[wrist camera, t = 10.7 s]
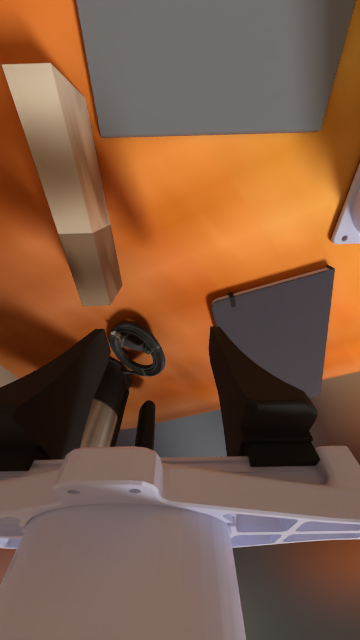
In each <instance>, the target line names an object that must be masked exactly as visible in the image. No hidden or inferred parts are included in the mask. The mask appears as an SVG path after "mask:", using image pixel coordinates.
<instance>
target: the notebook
mask: <svg viewBox="0 0 360 640" xmlns="http://www.w3.org/2000/svg"><path fill="white" fill-rule="evenodd" d="M334 272H335V268H333V267H331V266H329V265H327V267H326V268H322V269H319V270H315V271H312V272H308V273H305V274H301V275H298V276H294V277H290V278H287V279H283V280H280V281H276V282H273V283H269V284H266V285H262V286H258V287H255V288H251V289H248V290H244V291H241V292H237V293H234V294H233V293H232V292H230V293H228V295H226V296H223V297H219V298H217V299H215V300H214V301H213V302H212V306H211V307H212V313H213V316H214V320H215V324H216V327H217V326H220V327H221V329H222V330H223V331H224V332H225V334H226V335H227V336H228V337H229V338H230V339H231V341H232V342H233V343H234V344H235V345H236V346H237V347H238V348H239V349H240V350H241V351H242V352H243V353H244V354H245V355H246V356H247V357H249V358H250V359H251V360H252V361H254V362H255V363H256V364H257V365H259V366H260V367H262V368H263V369H265V370H266V371H267V372H269V373H271V374H272V375H274V376H275V377H277V378H279V379H281V380H282V381H284V382H286V383H288V384H290V385H292V386H294V387H296V388H298V389H300V390H302V391H304V392H305V393H306V395H307V396H308V397H315V396H320V392H321V383H322V375H323V366H324V358H325V349H326V340H327V332H328V323H329V315H330V306H331V297H332V289H333V280H334Z"/></svg>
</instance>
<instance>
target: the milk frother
mask: <svg viewBox="0 0 360 640" xmlns="http://www.w3.org/2000/svg"><path fill="white" fill-rule="evenodd" d="M119 339H120V340H121V342H120V343H119ZM109 340H110V346H111V349H112V350H113V352H114V353H115V355H116V356H117V358H118V359H119V360H120V361H121V362H122V363H123V364H124V365H126V366H127V367H128V368H130V369H132V370H134V371H130V370H127V369H126V368H125V367H124V366H123V365H121V364H120V363H119V362H116V361H115V360H112V359H110V358H109V361H108V365H107V367H106V370H105V372H104V374H103V377H102V379H101V381H100V384H99V386H98V388H97V391H96V393H95V396H94V398H93V401H92V405H91V408H90V411H89V415H88V418H87V422H86V426H85V430H84V434H83V438H82V442H81V446H80V448H84V447H115V445H116V441H117V438H118V434H119V430H120V426H121V422H122V418H123V414H124V410H125V406H126V402H127V398H128V395H129V388H130V386H131V376H130V374H129V373H131V374H135V375H139V376H155V375H157V374H159V373H160V372H161V371H162V370H163V369H164V366H165V356H164V353H163V350H162V348H161V346H160V344H159V343H158V341H157V340H156V338H155V337H154V336H153V335H152V334H151V333H150V332H149V331H148V330H147V329H146V328H144V327H143V326H141V325H139V324H137V323H133V322H121V323H119V324H117V325H116V326H115V327H114V328H113V329H112V331H111V333H110V339H109ZM120 345H121V346H120ZM124 346H126V347H128V348H130V349H133V350H137V351H143V352H145V353H147V354H151V355H152V357H153V364H150V365H141V364H138V363H136V362H134V361H133V360H131V359H130V358H129V357H128V356H127V355H126V354H125V352H124V351H123V349H122V348H123V347H124ZM121 347H122V348H121ZM154 431H155V404H154V403H153V402H152V401H150V400H147V401H146V402H145V403H144V404H143V405H142V407H141V409H140V411H139V418H138V426H137V434H136V440H135V447H145V448H148V449H151V450H153V451H154Z"/></svg>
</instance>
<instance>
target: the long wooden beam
mask: <svg viewBox="0 0 360 640" xmlns="http://www.w3.org/2000/svg"><path fill="white" fill-rule="evenodd" d="M2 68H3V71H4V74H5V76H6V79H7V82H8V85H9V88H10V91H11V94H12V97H13V100H14V103H15V106H16V109H17V112H18V115H19V118H20V121H21V124H22V127H23V130H24V133H25V136H26V139H27V142H28V145H29V148H30V151H31V154H32V157H33V160H34V163H35V166H36V169H37V172H38V175H39V178H40V181H41V184H42V187H43V190H44V193H45V196H46V198H47V201H48V204H49V207H50V210H51V213H52V216H53V219H54V222H55V225H56V228H57V231H58V234H59V237H60V240H61V243H62V246H63V249H64V252H65V255H66V258H67V261H68V264H69V267H70V270H71V273H72V276H73V279H74V282H75V285H76V288H77V291H78V294H79V297H80V300H81V303H82V306H101V305H111V303H112V302H113V300H114V298H115V297H116V295H117V293H118V292H119V290H120V288H121V287H122V281H121V276H120V271H119V266H118V261H117V255H116V250H115V245H114V240H113V235H112V230H111V225H110V220H109V215H108V210H107V205H106V200H105V194H104V189H103V184H102V179H101V174H100V169H99V164H98V159H97V154H96V149H95V144H94V139H93V134H92V128H91V123H90V118H89V113H88V108H87V103H86V98H85V97H84V96H83V95H82V94H81V93H80V92H79V91H78V90H77V89H76V88H75V87H74V86H73V85H72V84H71V83H70V82H69V81H68V80H67V79H66V78H65V77H64V76H63V75H62V74H61V73H60V72H59V71H58V70H57V69H56V68H55V67H54V66H53V65H52V64H51V63H33V64H3V65H2Z"/></svg>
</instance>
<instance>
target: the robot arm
mask: <svg viewBox="0 0 360 640" xmlns="http://www.w3.org/2000/svg"><path fill="white" fill-rule="evenodd" d="M343 236H345V238H344V239H343V240H342V237H343ZM331 241H332V243H335V244H358V243H360V164H359V166H358V169H357V172H356V174H355V177H354V180H353V182H352V185H351V187H350V190H349V193H348V195H347V198H346V201H345V203H344V206H343V209H342V211H341V214H340V217H339V219H338V222H337V225H336V227H335V230H334V233H333V235H332V238H331ZM110 353H111V350H110V347H109V343H108V340H107V336H106V333H105V329H95V330H93V331H92V332H91V333H89V334H88V335H87V336H86V337H84V338H83V339H82V340H81V341H79V342H78V343H77V344H75V345H74V346H73V347H72V348H70V349H69V350H67V351H66V352H65V353H63V354H62V355H60V356H59V357H57V358H56V359H54V360H53V361H51V362H50V363H48V364H46V365H45V366H43V367H41V368H40V369H38V370H36V371H34V372H32V373H30V374H28V375H26V376H24V377H22V378H20V379H18V380H16V381H14V382H12V383H10V384H7V385H5V386H3V387H0V548H10V549H11V548H12V549H17V550H16V552H15V554H14V557H13V559H12V561H11V563H10V565H9V568H8V570H7V572H6V574H5V577H4V579H3V581H2V583H1V585H0V640H246V636H245V629H244V623H243V617H242V610H241V603H240V598H239V590H238V583H237V577H236V570H235V563H234V557H233V551H232V548H235V547H247V546H258V545H270V544H281V543H293V542H305V541H320V540H339V539H340V540H341V539H360V465H359V464H358V463H357V461H356V460H355V458H354V457H353V455H352V453H351V452H350V450H349V449H348V447H346V446H321V447H318V448H316V449H314V447H313V445H312V443H311V441H312V440H313V438H312V436H311V435H310V432H309V430H310V428H311V426H312V425H313V423H314V422H315V420H316V417H317V410H316V408H315V407H314V405H313V404H312V402H311V400H310V399H309V397H308V396H307V395H306V393H305V392H304V391H302V390H300V389H298V388H296V387H294V386H292V385H290V384H288V383H286V382H284V381H282V380H281V379H279V378H277V377H275V376H274V375H272V374H271V373H269V372H267V371H266V370H265V369H263V368H262V367H260V366H259V365H257V364H256V363H255V362H254V361H252V360H251V359H250V358H249V357H247V356H246V355H245V354H244V353H243V352H242V351H241V350H240V349H239V348H238V347H237V346H236V345H235V344H234V343H233V342H232V341H231V339H230V338H229V337H228V336H227V335H226V334H225V332H224V331H223V330H222V329H221V327H220V326H217V327H210V339H209V356H210V363H211V367H212V371H213V375H214V379H215V382H216V386H217V390H218V395H219V400H220V407H221V413H222V420H223V427H224V435H225V443H226V451H227V457H182V458H160V457H159V456H158V455H157V453H156V452H155V451H153V450H151V449H148V448H145V447H84V448H80V446H81V442H82V438H83V434H84V430H85V426H86V422H87V418H88V415H89V411H90V408H91V405H92V401H93V398H94V396H95V393H96V391H97V388H98V386H99V384H100V381H101V379H102V377H103V374H104V372H105V370H106V367H107V365H108V361H109V357H110Z"/></svg>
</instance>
